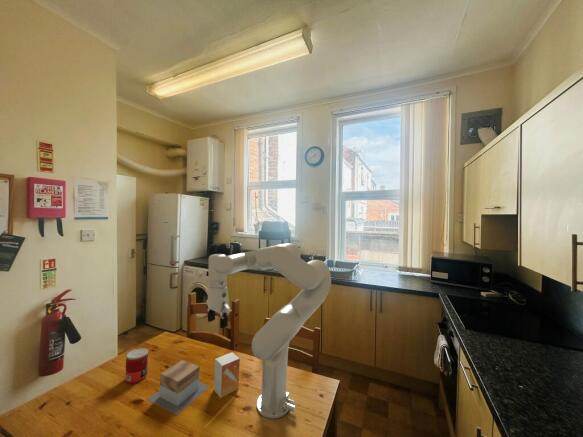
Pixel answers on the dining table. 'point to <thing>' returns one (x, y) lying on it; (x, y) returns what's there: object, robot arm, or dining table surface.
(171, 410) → the mat
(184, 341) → the dining table surface
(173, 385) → the tower top
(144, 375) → the canned food
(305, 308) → the robot arm
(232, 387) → the small box
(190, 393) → the tower base
